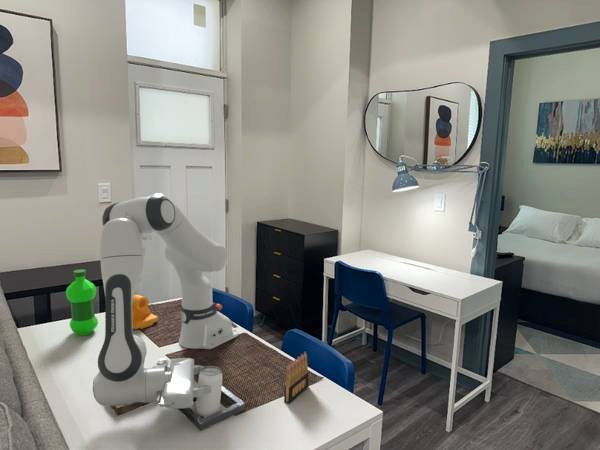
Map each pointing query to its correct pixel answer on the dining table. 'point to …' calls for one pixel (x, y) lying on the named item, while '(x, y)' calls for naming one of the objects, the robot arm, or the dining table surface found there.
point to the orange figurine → (141, 313)
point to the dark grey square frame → (217, 417)
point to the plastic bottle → (82, 304)
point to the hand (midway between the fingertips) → (210, 378)
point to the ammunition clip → (296, 378)
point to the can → (211, 401)
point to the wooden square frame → (127, 408)
